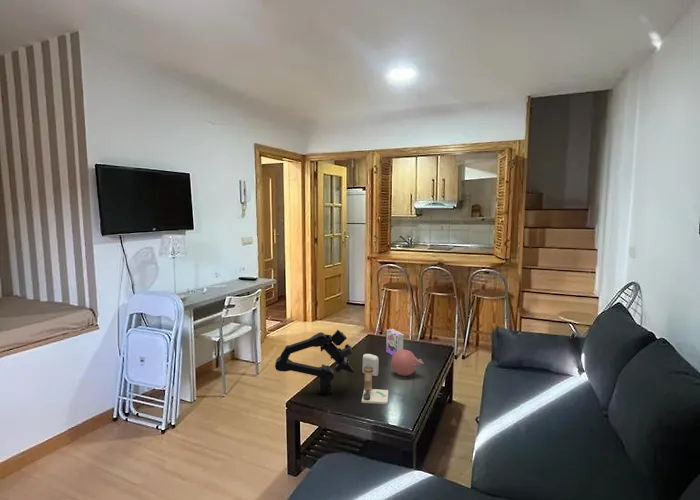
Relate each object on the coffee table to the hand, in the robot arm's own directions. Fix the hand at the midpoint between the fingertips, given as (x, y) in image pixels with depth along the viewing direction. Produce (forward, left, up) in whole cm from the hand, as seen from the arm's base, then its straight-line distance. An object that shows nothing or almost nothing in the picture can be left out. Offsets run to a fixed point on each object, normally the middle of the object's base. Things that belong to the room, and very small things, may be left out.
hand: (353, 372), depth 215 cm
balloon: (+12, +39, -13) cm, 43 cm away
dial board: (+12, +4, -12) cm, 17 cm away
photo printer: (-7, +27, -13) cm, 31 cm away
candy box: (-12, +64, -13) cm, 67 cm away
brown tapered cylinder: (+8, +2, -11) cm, 14 cm away
